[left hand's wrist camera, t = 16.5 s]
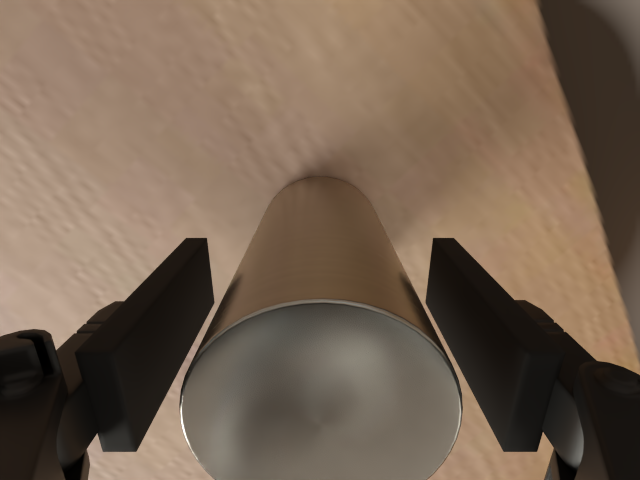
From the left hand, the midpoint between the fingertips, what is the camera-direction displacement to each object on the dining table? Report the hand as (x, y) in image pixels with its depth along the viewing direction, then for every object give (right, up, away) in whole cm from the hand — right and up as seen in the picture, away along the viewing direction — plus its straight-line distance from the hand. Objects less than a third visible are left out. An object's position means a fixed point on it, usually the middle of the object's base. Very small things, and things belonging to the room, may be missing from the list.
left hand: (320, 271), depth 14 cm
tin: (0, +1, +4) cm, 4 cm away
